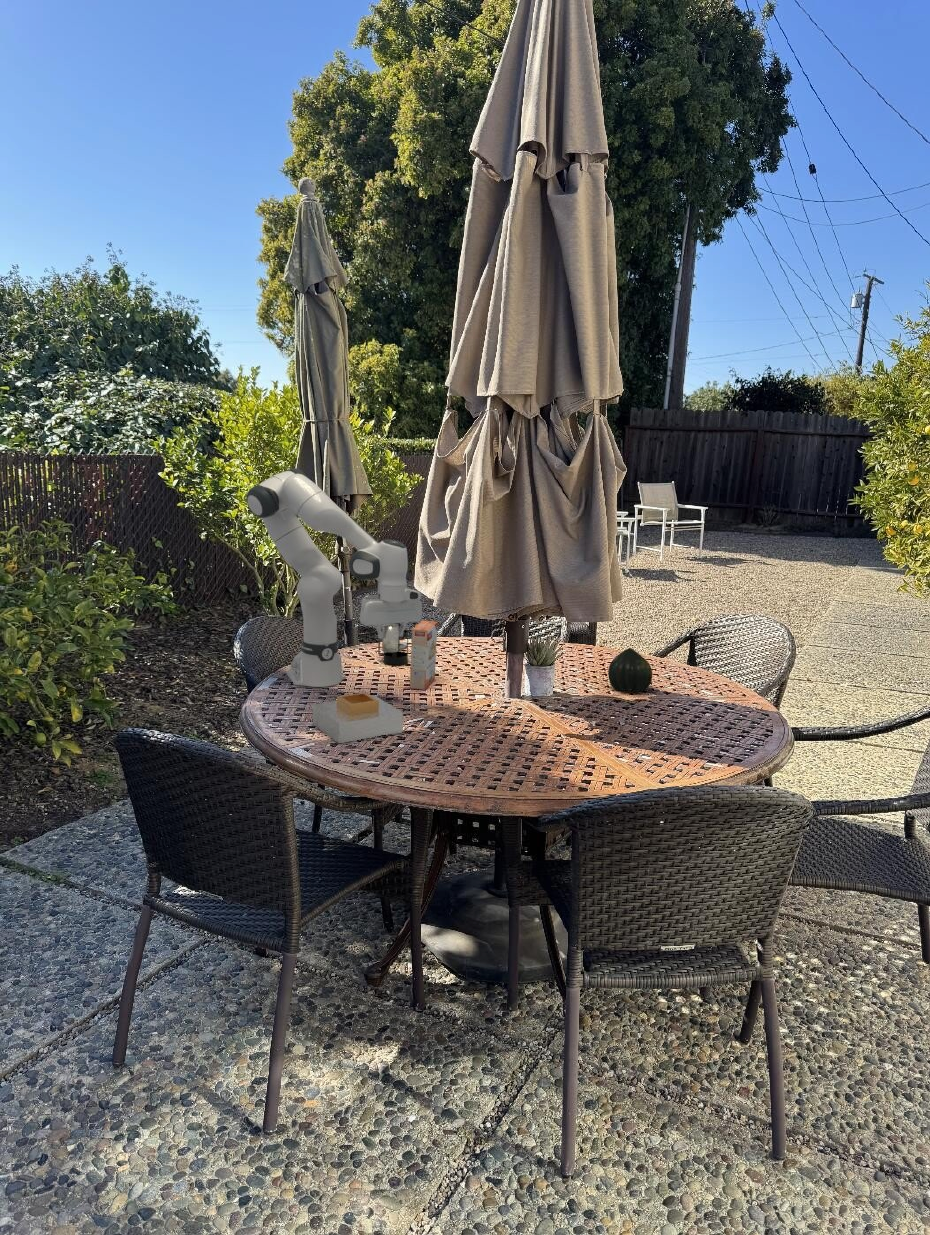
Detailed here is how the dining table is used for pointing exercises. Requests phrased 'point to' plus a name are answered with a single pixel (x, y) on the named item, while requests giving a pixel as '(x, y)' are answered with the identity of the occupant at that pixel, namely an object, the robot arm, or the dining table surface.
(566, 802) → the dining table surface
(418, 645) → the cracker box
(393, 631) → the clear glass cup
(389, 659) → the french press
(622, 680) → the squash
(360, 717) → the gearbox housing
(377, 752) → the dining table surface
